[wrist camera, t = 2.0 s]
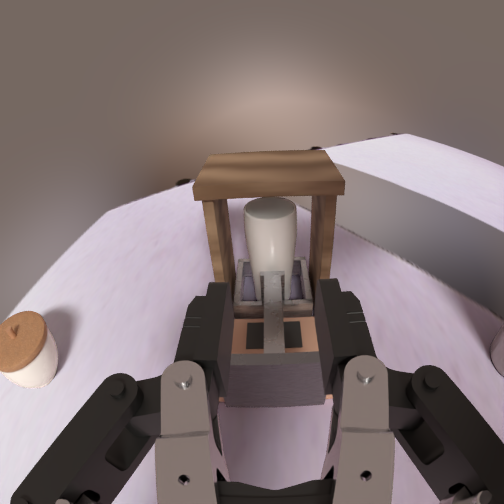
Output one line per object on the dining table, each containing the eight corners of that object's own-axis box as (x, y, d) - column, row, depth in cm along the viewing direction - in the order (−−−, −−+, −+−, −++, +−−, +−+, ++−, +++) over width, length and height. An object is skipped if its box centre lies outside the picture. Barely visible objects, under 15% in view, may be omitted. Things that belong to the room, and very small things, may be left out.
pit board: (216, 326, 42) (214, 318, 41) (330, 322, 41) (332, 314, 40) (205, 400, 32) (202, 394, 31) (344, 397, 31) (346, 390, 30)
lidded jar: (78, 347, 39) (50, 301, 34) (57, 406, 30) (18, 364, 25) (30, 343, 39) (2, 301, 34) (7, 394, 30) (-29, 354, 25)
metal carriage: (240, 273, 51) (233, 217, 45) (304, 271, 50) (306, 214, 44) (226, 416, 30) (210, 364, 24) (323, 414, 29) (338, 361, 23)
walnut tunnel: (225, 274, 52) (209, 154, 40) (318, 270, 51) (324, 150, 39) (217, 325, 42) (192, 186, 31) (329, 321, 41) (345, 181, 30)
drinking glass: (256, 316, 43) (249, 224, 35) (246, 287, 49) (237, 200, 40) (301, 306, 44) (305, 214, 36) (286, 278, 50) (286, 193, 41)
